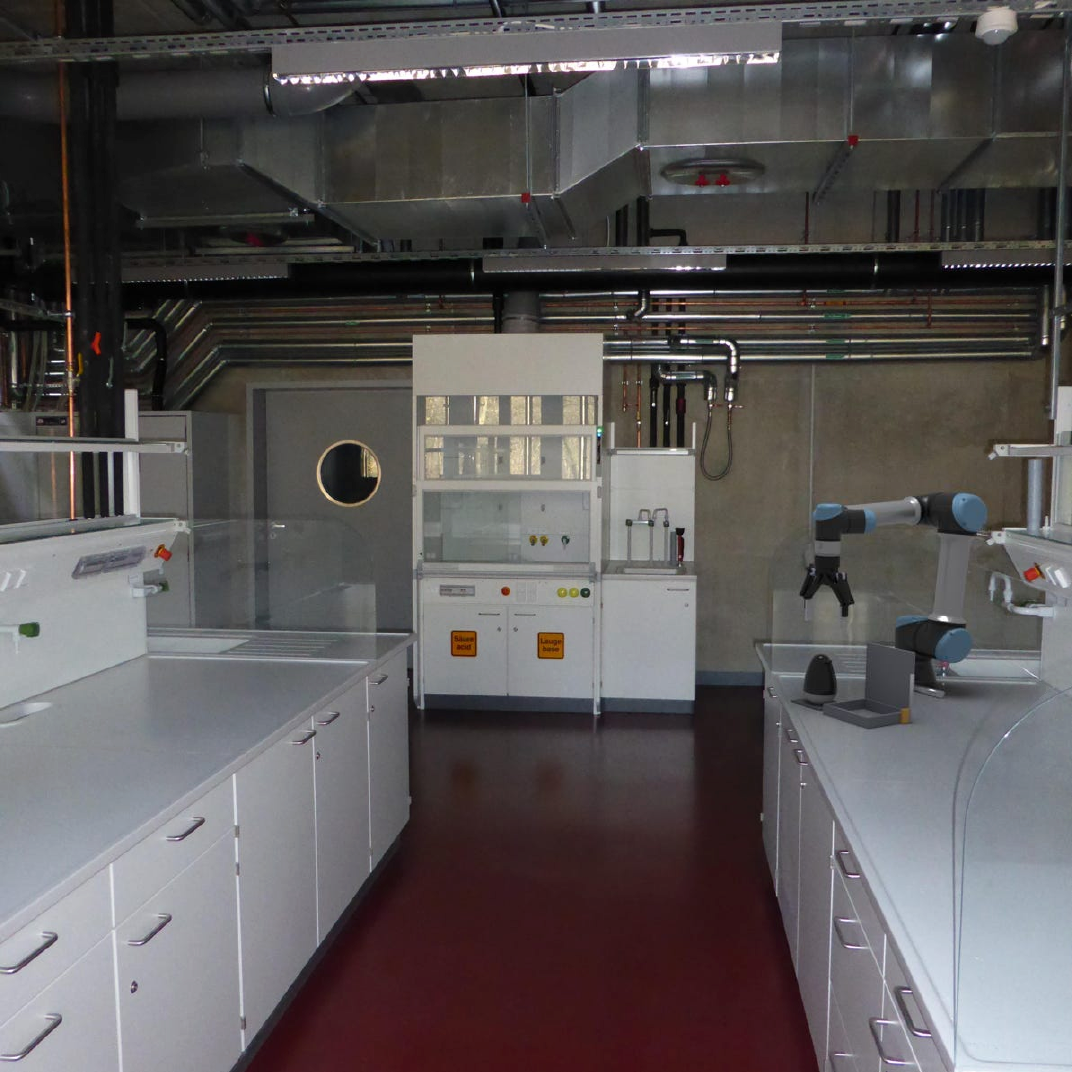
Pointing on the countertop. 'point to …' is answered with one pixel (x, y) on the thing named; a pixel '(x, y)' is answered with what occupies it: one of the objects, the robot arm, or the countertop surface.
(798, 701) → the pad
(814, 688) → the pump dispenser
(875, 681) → the case
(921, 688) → the rod
